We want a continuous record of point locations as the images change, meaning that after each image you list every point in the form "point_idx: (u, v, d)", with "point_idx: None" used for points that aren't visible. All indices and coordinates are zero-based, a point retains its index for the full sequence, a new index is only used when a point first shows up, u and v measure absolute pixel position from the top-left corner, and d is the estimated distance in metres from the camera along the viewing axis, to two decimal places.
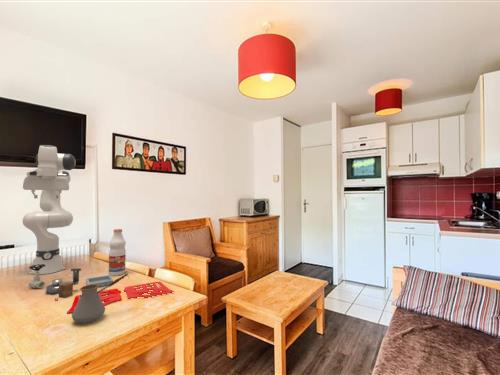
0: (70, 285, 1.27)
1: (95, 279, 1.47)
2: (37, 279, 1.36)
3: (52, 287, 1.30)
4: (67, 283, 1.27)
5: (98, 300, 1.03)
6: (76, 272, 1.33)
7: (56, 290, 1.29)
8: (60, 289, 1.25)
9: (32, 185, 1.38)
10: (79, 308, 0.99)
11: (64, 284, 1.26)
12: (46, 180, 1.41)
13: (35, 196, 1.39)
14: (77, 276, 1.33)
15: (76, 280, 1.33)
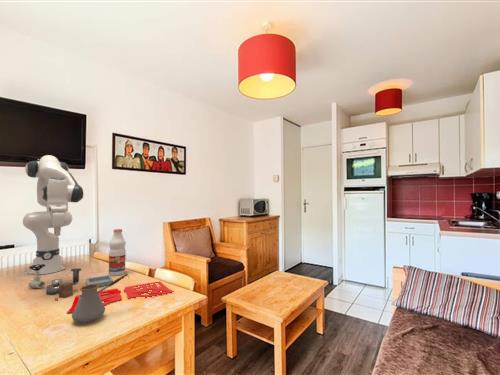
0: (70, 285, 1.27)
1: (95, 279, 1.47)
2: (37, 279, 1.36)
3: (52, 287, 1.30)
4: (67, 283, 1.27)
5: (98, 300, 1.03)
6: (76, 272, 1.33)
7: (56, 290, 1.29)
8: (60, 289, 1.25)
9: None
10: (79, 308, 0.99)
11: (64, 284, 1.26)
12: None
13: None
14: (77, 276, 1.33)
15: (76, 280, 1.33)
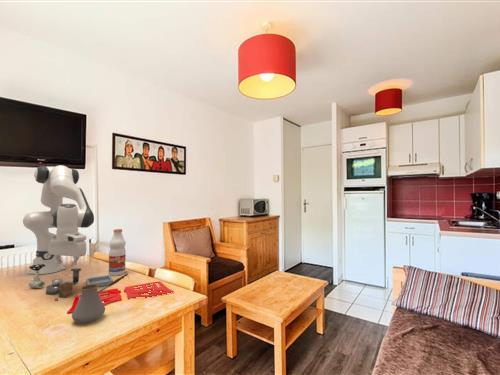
0: (70, 285, 1.27)
1: (95, 279, 1.47)
2: (37, 279, 1.36)
3: (52, 287, 1.30)
4: (67, 283, 1.27)
5: (98, 300, 1.03)
6: (76, 272, 1.33)
7: (56, 290, 1.29)
8: (60, 289, 1.25)
9: None
10: (79, 308, 0.99)
11: (64, 284, 1.26)
12: None
13: None
14: (77, 276, 1.33)
15: (76, 280, 1.33)
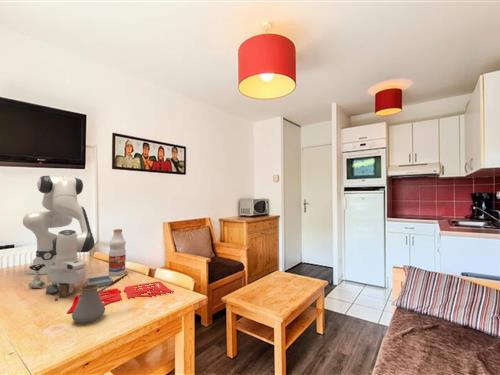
0: None
1: (95, 279, 1.47)
2: (37, 279, 1.36)
3: (52, 287, 1.30)
4: None
5: (98, 300, 1.03)
6: None
7: (56, 290, 1.29)
8: (60, 289, 1.25)
9: None
10: (79, 308, 0.99)
11: (64, 284, 1.26)
12: None
13: None
14: None
15: None
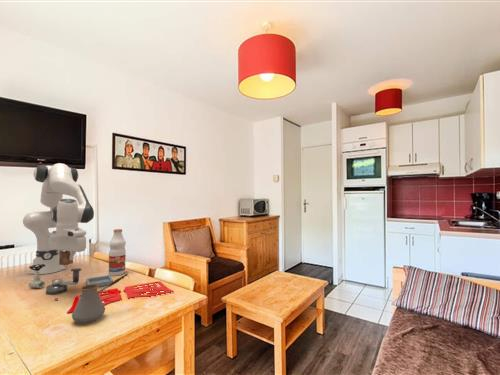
0: None
1: (95, 279, 1.47)
2: (37, 279, 1.36)
3: (52, 287, 1.30)
4: (68, 251, 1.28)
5: (98, 300, 1.03)
6: (76, 272, 1.33)
7: (56, 290, 1.29)
8: (61, 256, 1.25)
9: None
10: (79, 308, 0.99)
11: (65, 252, 1.26)
12: None
13: None
14: (77, 276, 1.33)
15: (76, 280, 1.33)
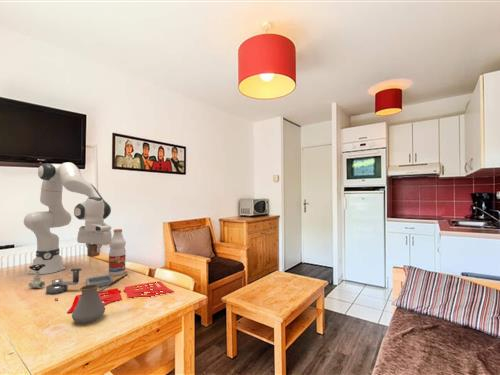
0: (97, 246, 1.41)
1: (95, 279, 1.47)
2: (37, 279, 1.36)
3: (52, 287, 1.30)
4: (95, 244, 1.41)
5: (98, 300, 1.03)
6: (76, 272, 1.33)
7: (56, 290, 1.29)
8: (89, 249, 1.39)
9: None
10: (79, 308, 0.99)
11: (92, 245, 1.40)
12: None
13: None
14: (77, 276, 1.33)
15: (76, 280, 1.33)
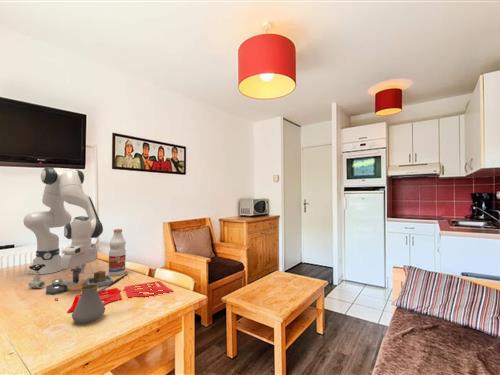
0: (103, 273, 1.44)
1: None
2: (37, 279, 1.36)
3: (52, 287, 1.30)
4: (101, 271, 1.44)
5: (98, 300, 1.03)
6: (76, 272, 1.33)
7: (56, 290, 1.29)
8: (95, 277, 1.42)
9: (74, 263, 1.30)
10: (79, 308, 0.99)
11: (98, 272, 1.43)
12: (83, 254, 1.36)
13: (81, 271, 1.36)
14: (77, 276, 1.33)
15: (76, 280, 1.33)
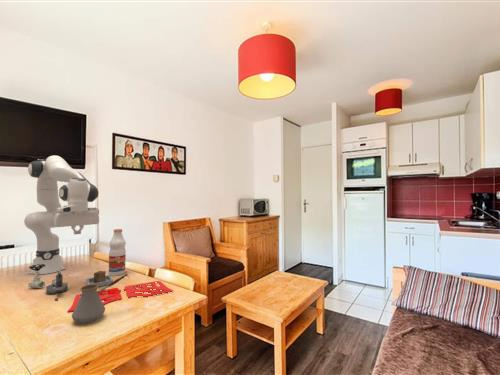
0: (103, 273, 1.44)
1: None
2: (37, 279, 1.36)
3: (52, 287, 1.30)
4: (101, 271, 1.44)
5: (98, 300, 1.03)
6: (56, 277, 1.25)
7: (56, 290, 1.29)
8: (95, 277, 1.42)
9: (65, 222, 1.31)
10: (79, 308, 0.99)
11: (98, 272, 1.43)
12: (78, 215, 1.35)
13: (76, 232, 1.35)
14: (57, 281, 1.25)
15: (56, 285, 1.25)
